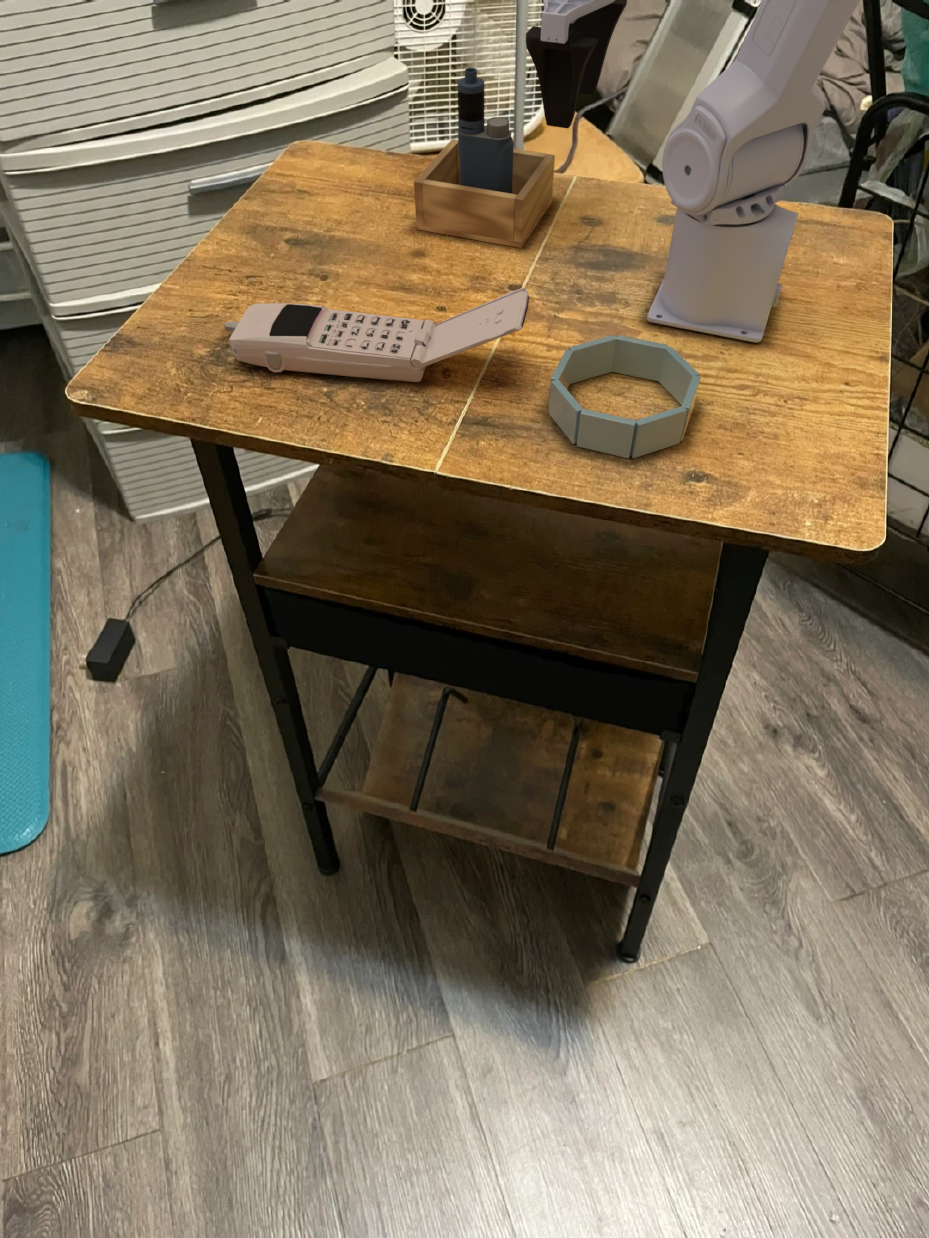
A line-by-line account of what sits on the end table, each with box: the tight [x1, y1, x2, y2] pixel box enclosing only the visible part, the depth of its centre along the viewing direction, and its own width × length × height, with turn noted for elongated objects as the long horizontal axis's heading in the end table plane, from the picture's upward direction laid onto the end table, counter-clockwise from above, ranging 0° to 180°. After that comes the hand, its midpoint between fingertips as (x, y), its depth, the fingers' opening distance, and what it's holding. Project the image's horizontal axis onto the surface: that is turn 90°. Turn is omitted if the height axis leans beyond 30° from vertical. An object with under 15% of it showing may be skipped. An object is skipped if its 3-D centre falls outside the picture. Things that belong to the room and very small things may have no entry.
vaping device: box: [457, 67, 515, 194], centre depth 79 cm, size 3×5×12 cm, turn 69°
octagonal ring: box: [547, 334, 701, 459], centre depth 64 cm, size 10×10×3 cm
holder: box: [413, 138, 556, 249], centre depth 82 cm, size 11×10×4 cm
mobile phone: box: [224, 287, 530, 383], centre depth 67 cm, size 6×6×25 cm
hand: (571, 108), depth 77 cm, fingers open, 7 cm apart
